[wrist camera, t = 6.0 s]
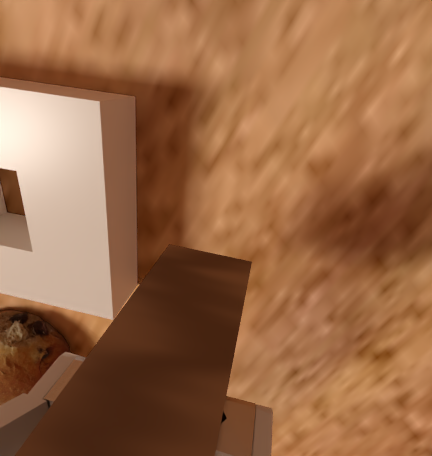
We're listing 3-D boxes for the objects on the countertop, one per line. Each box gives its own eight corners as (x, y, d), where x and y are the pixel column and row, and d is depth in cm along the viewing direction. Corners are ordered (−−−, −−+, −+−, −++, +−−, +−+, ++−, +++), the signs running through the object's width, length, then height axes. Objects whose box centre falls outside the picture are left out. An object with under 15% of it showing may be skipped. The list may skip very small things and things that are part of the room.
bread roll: (5, 296, 34) (-74, 357, 29) (19, 289, 26) (-85, 371, 21) (67, 355, 36) (4, 420, 32) (96, 364, 29) (20, 452, 24)
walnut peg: (251, 261, 14) (143, 826, 3) (238, 326, 16) (141, 829, 5) (169, 244, 14) (-154, 684, 4) (165, 308, 16) (-62, 730, 6)
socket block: (135, 96, 18) (99, 101, 14) (137, 284, 24) (113, 319, 21) (-98, 62, 20) (-180, 60, 16) (-38, 246, 26) (-87, 272, 23)
